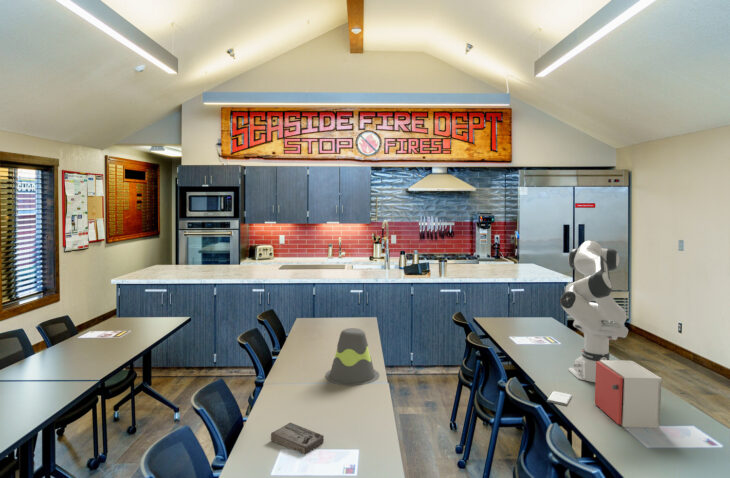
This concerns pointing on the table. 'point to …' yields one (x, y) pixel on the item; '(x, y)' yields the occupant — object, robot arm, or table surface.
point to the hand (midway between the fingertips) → (613, 338)
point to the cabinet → (638, 394)
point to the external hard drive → (559, 398)
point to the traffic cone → (352, 360)
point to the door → (608, 392)
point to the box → (297, 438)
